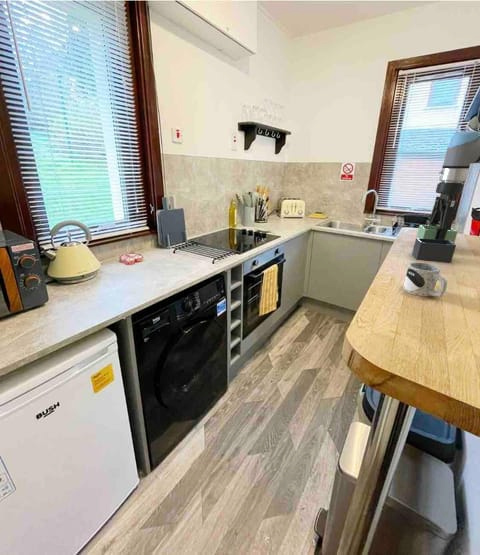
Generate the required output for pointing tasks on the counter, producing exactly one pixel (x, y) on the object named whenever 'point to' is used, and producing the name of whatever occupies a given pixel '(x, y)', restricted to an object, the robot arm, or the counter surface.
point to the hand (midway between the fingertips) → (433, 244)
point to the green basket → (431, 231)
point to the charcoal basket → (433, 250)
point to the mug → (423, 280)
